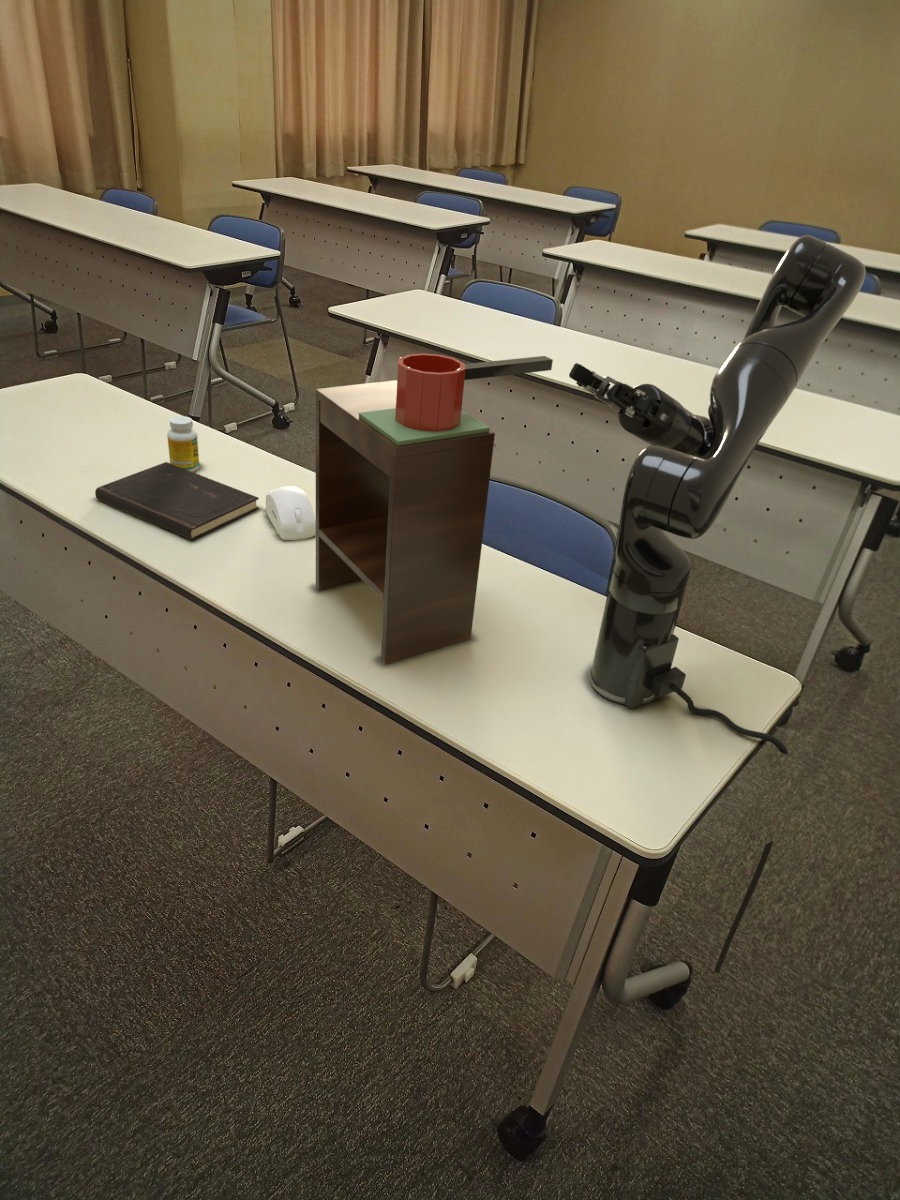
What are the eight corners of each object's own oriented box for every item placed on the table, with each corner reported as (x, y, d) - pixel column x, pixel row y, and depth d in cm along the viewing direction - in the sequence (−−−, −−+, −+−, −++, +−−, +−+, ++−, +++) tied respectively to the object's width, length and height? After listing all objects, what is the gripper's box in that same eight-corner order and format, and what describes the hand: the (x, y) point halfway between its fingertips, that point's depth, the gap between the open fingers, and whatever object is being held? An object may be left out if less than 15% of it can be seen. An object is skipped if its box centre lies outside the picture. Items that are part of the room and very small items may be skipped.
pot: (560, 413, 111) (569, 360, 107) (416, 434, 100) (420, 376, 96) (524, 394, 116) (531, 343, 113) (383, 412, 106) (386, 356, 102)
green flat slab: (489, 432, 105) (490, 427, 104) (398, 446, 98) (398, 441, 98) (446, 405, 111) (446, 401, 111) (358, 417, 105) (358, 412, 105)
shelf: (470, 639, 121) (495, 433, 104) (384, 664, 114) (396, 448, 98) (395, 568, 136) (406, 378, 120) (315, 587, 129) (315, 388, 113)
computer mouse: (281, 543, 140) (280, 508, 137) (262, 509, 150) (261, 476, 146) (319, 538, 142) (319, 504, 139) (298, 505, 152) (297, 473, 149)
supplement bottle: (171, 462, 163) (166, 414, 158) (200, 462, 165) (196, 414, 159) (169, 473, 159) (164, 425, 154) (199, 473, 160) (195, 425, 155)
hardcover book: (167, 473, 159) (166, 461, 158) (259, 509, 150) (258, 497, 148) (95, 500, 147) (94, 488, 146) (191, 541, 138) (189, 529, 136)
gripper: (634, 380, 132) (573, 339, 120) (704, 410, 122) (644, 369, 111) (610, 424, 134) (547, 387, 122) (677, 457, 124) (615, 421, 113)
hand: (593, 379), depth 117 cm, fingers open, 8 cm apart
